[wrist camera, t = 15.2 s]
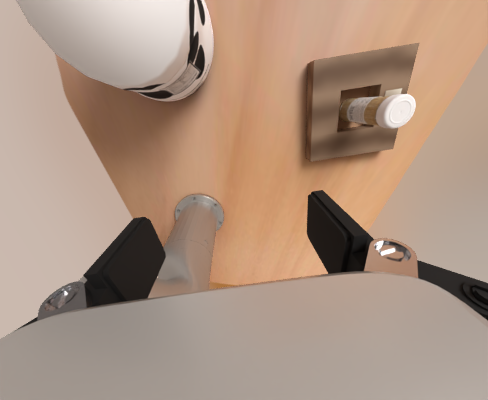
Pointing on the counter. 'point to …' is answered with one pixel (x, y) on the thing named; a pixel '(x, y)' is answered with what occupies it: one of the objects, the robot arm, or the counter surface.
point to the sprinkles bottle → (379, 110)
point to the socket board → (349, 77)
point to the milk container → (130, 41)
